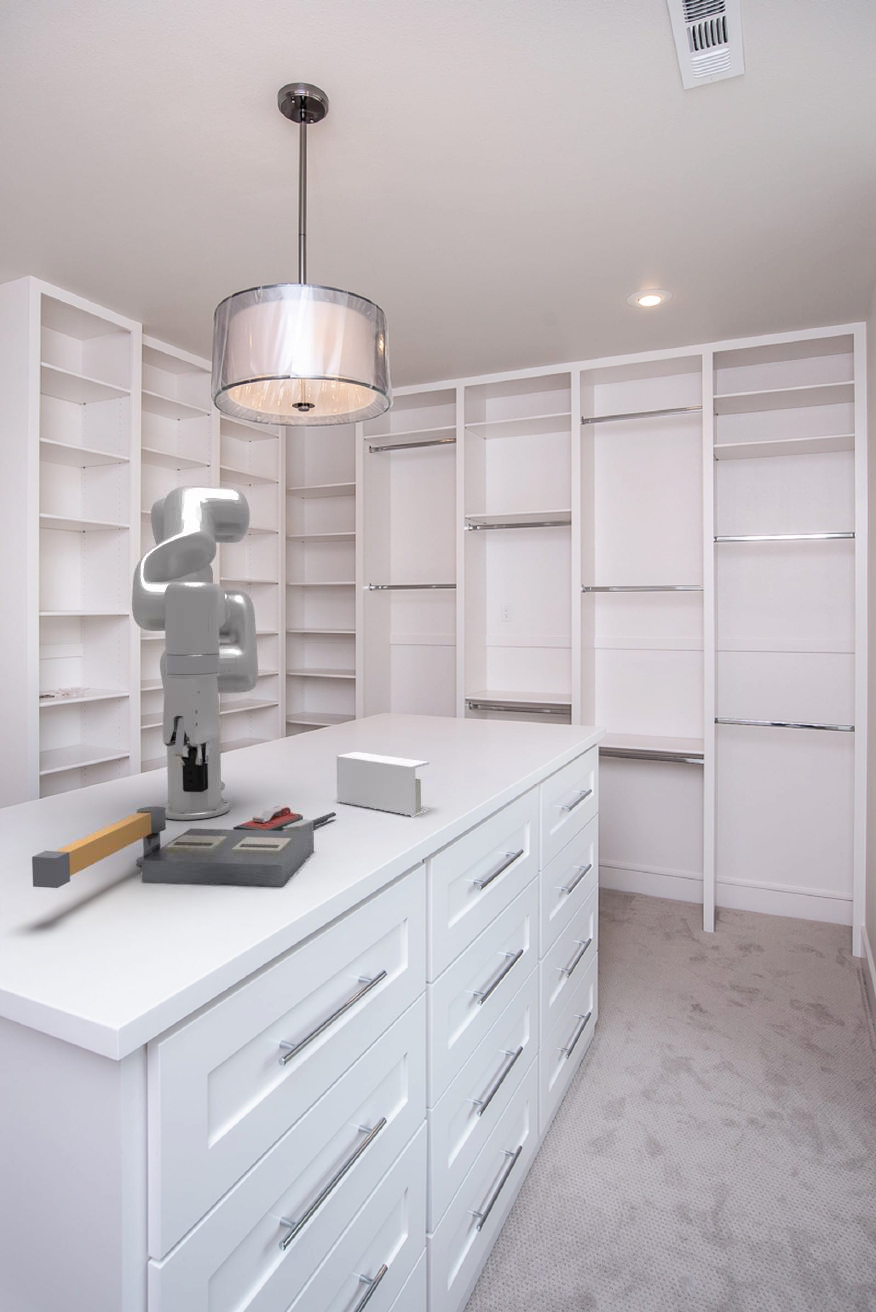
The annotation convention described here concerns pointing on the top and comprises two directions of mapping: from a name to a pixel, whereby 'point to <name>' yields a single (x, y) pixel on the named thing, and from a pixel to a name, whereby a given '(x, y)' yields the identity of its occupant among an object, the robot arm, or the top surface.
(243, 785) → the top surface
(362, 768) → the cigarette display
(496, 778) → the top surface
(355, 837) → the top surface
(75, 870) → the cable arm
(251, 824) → the walkie-talkie
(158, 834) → the pivot post
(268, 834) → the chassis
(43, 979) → the top surface
